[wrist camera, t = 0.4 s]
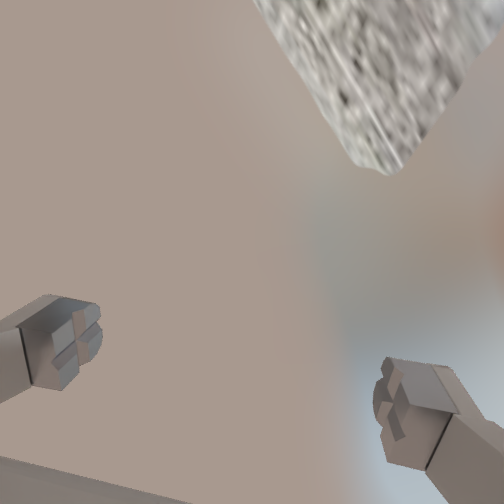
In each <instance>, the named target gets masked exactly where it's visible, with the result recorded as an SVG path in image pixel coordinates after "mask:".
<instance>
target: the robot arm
mask: <svg viewBox="0 0 504 504" xmlns="http://www.w3.org/2000/svg"><path fill="white" fill-rule="evenodd" d="M100 317H101V314H100V307H99V306H98V305H97V304H96V303H91V302H86V301H82V300H77V299H71V298H67V297H62V296H56V295H51V294H50V295H49V294H48V295H42V296H41V297H39V298H37V299H36V300H34V301H32V302H31V303H29V304H27V305H25V306H24V307H22V308H21V309H19V310H17V311H15V312H14V313H12V314H10V315H9V316H7V317H5V318H4V319H2V320H0V403H2V402H4V401H6V400H8V399H10V398H12V397H14V396H16V395H18V394H19V393H21V392H23V391H25V390H27V389H29V388H30V387H31V386H37V387H42V388H48V389H53V390H58V391H62V390H63V389H64V388H65V387H66V386H67V385H68V384H69V383H70V382H71V381H72V380H73V379H74V378H75V377H76V376H77V375H78V373H79V366H81V365H83V364H85V363H87V362H90V361H91V360H92V359H93V358H94V356H95V355H96V354H97V352H98V350H99V348H100V346H101V343H102V338H103V335H102V329H101V328H100V326H99V324H98V323H97V321H98V320H99V318H100ZM381 371H382V374H383V378H381V379H380V380H378V381H377V382H376V386H375V389H374V393H373V409H374V414H375V418H376V420H377V421H378V423H379V424H380V425H381V426H382V427H383V429H382V432H381V435H380V437H381V440H382V444H383V448H384V452H385V455H386V459H387V462H389V463H393V464H397V465H401V466H405V467H409V468H413V469H417V470H421V471H425V472H426V473H425V474H426V475H427V476H428V478H429V479H430V480H431V481H432V483H433V484H434V485H435V487H436V488H437V489H438V490H439V492H440V493H441V494H442V495H443V497H444V498H445V499H446V500H447V502H448V503H449V504H504V429H503V428H501V427H500V426H499V425H497V424H496V423H495V422H492V421H488V420H486V419H485V418H484V416H483V415H482V413H481V412H480V410H479V409H478V407H477V406H476V404H475V403H474V401H473V400H472V398H471V397H470V395H469V394H468V392H467V391H466V389H465V388H464V386H463V385H462V383H461V382H460V380H459V379H458V377H457V376H456V374H455V373H454V371H453V370H452V369H451V368H449V367H448V366H442V365H436V364H429V363H426V364H425V363H420V362H413V361H408V360H403V359H396V358H391V357H386V358H385V360H384V361H383V364H382V367H381ZM0 504H191V503H187V502H183V501H179V500H175V499H171V498H167V497H163V496H159V495H155V494H151V493H147V492H142V491H139V490H134V489H131V488H127V487H123V486H118V485H115V484H111V483H107V482H103V481H99V480H95V479H91V478H87V477H83V476H79V475H75V474H70V473H67V472H63V471H59V470H55V469H51V468H47V467H43V466H39V465H35V464H30V463H27V462H22V461H19V460H15V459H11V458H7V457H2V456H0Z"/></svg>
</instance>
